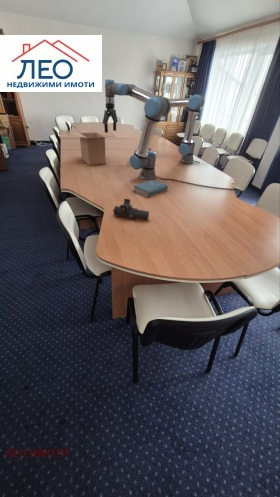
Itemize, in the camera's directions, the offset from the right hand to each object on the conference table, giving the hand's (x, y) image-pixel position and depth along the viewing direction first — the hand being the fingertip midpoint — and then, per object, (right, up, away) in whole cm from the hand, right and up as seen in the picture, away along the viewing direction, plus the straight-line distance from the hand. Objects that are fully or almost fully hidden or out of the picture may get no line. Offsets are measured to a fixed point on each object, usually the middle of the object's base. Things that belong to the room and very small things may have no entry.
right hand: (147, 135), depth 251 cm
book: (-1, -82, -72) cm, 110 cm away
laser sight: (-15, -109, -110) cm, 155 cm away
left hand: (-35, -25, -56) cm, 71 cm away
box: (-59, -35, -14) cm, 70 cm away
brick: (-1, -19, +14) cm, 23 cm away
